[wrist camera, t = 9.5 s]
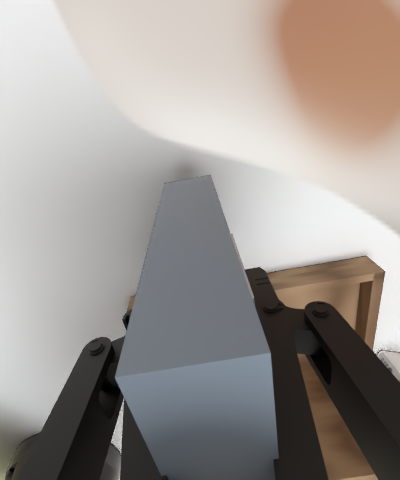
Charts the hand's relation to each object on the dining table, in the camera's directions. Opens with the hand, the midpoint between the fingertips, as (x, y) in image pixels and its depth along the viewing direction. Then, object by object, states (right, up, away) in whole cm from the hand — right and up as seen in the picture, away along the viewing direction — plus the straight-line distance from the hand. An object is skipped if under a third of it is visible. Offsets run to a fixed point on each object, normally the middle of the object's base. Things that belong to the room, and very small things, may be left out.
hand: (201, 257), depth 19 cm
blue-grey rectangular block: (0, +1, +1) cm, 2 cm away
